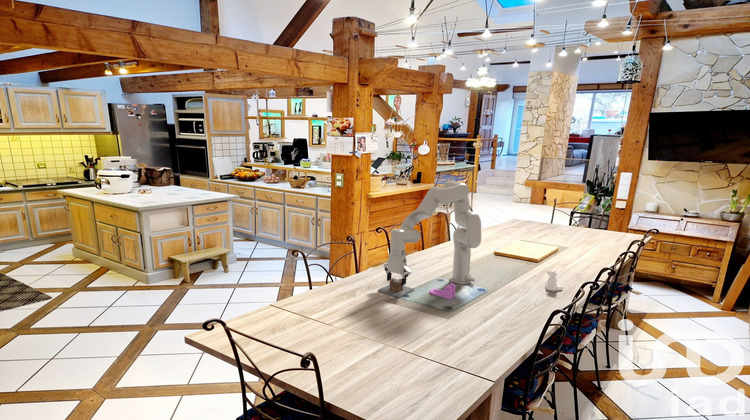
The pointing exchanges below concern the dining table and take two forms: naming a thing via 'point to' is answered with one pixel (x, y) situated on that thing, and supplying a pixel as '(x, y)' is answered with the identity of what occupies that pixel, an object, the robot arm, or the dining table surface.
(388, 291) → the post
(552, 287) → the seated beast figurine
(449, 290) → the bracket
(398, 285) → the collar
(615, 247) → the dining table surface
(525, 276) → the dining table surface
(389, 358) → the dining table surface
